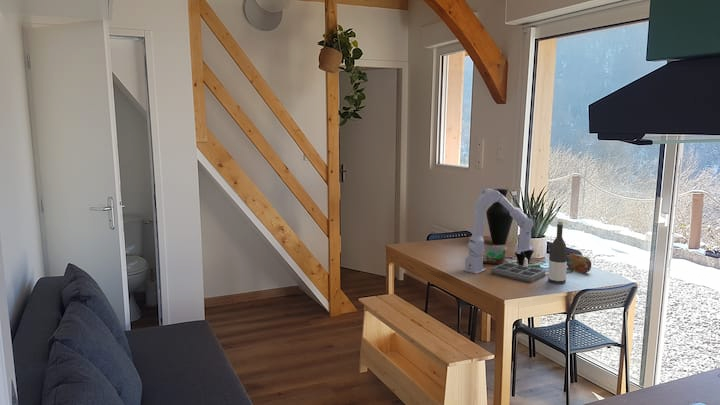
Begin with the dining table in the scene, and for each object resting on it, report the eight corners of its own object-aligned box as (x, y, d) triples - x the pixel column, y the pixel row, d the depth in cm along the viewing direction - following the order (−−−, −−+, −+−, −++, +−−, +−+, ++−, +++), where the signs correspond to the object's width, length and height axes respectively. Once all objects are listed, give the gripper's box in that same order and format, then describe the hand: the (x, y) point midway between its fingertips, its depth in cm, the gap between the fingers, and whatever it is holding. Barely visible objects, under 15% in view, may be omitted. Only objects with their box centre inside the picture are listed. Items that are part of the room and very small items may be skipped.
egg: (525, 269, 269) (525, 258, 269) (518, 267, 272) (518, 257, 271) (528, 267, 272) (529, 257, 271) (521, 266, 275) (522, 255, 274)
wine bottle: (556, 285, 243) (560, 223, 239) (544, 280, 251) (547, 220, 246) (569, 282, 246) (573, 222, 242) (556, 278, 254) (560, 219, 249)
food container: (481, 263, 281) (482, 245, 280) (484, 260, 287) (485, 243, 285) (504, 266, 276) (504, 248, 274) (506, 263, 281) (507, 245, 280)
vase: (485, 245, 321) (487, 191, 316) (485, 239, 338) (486, 187, 332) (513, 247, 317) (515, 191, 312) (511, 240, 334) (514, 188, 328)
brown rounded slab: (564, 267, 273) (565, 252, 272) (569, 266, 274) (570, 251, 273) (587, 274, 259) (588, 258, 258) (591, 274, 261) (593, 258, 259)
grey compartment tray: (531, 282, 247) (531, 276, 246) (491, 273, 262) (491, 268, 262) (545, 276, 257) (545, 270, 257) (505, 267, 273) (505, 262, 272)
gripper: (525, 243, 262) (524, 268, 264) (538, 238, 272) (537, 263, 274) (512, 241, 267) (511, 266, 269) (526, 236, 277) (524, 260, 279)
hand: (523, 264), depth 272 cm, fingers open, 6 cm apart
